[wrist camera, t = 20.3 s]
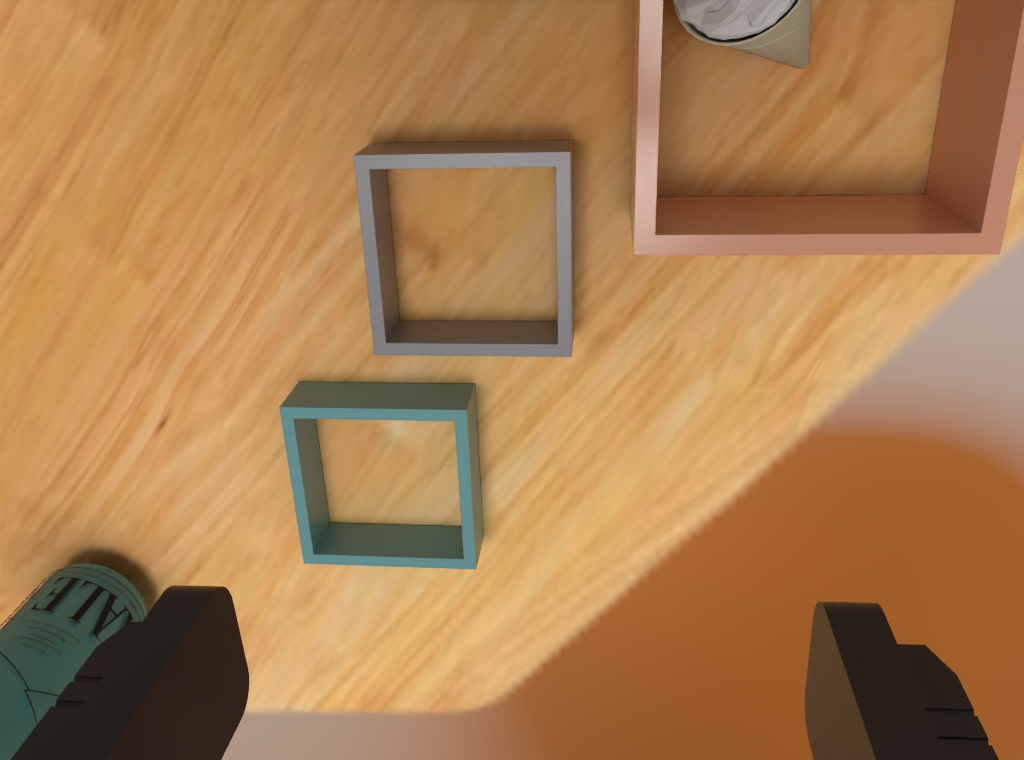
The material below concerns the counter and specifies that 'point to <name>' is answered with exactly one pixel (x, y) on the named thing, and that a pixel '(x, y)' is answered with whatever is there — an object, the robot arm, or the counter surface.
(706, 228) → the bin
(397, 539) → the crate
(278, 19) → the counter surface
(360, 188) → the frame
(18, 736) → the beverage bottle
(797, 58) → the ice cream cone
